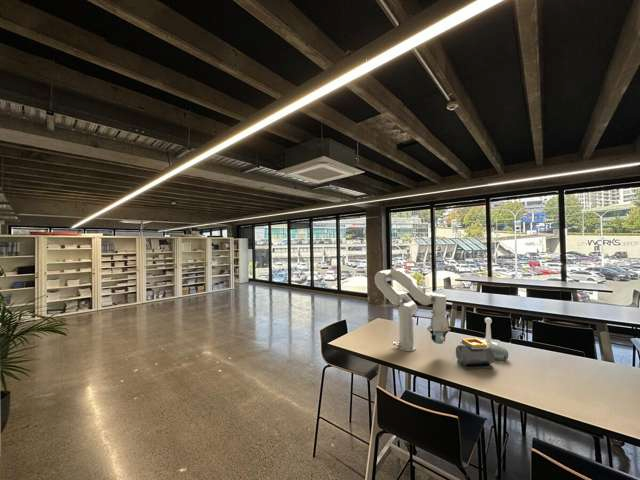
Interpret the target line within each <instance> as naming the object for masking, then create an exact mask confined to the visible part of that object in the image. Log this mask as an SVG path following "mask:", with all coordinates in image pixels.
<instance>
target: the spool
mask: <svg viewBox="0 0 640 480" xmlns="http://www.w3.org/2000/svg"><path fill="white" fill-rule="evenodd" d="M488 346H489V347H490V348H491V349H492V351H493V353H494V360H497V361H507V360H508V359H509V352H508V350H507V349H506V348H505V347H503V346H499V345H498V346H496V345H488Z"/></svg>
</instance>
